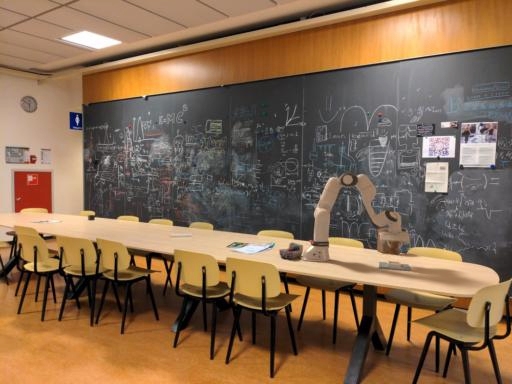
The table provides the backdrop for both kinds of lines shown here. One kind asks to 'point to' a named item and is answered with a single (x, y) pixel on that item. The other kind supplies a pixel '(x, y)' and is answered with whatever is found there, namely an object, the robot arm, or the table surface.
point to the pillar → (394, 247)
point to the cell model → (292, 251)
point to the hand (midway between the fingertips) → (394, 247)
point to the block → (382, 246)
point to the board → (394, 265)
